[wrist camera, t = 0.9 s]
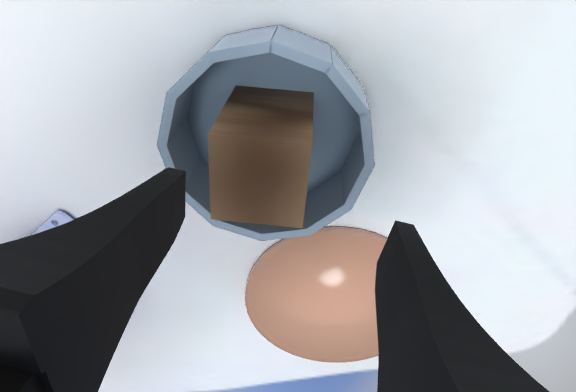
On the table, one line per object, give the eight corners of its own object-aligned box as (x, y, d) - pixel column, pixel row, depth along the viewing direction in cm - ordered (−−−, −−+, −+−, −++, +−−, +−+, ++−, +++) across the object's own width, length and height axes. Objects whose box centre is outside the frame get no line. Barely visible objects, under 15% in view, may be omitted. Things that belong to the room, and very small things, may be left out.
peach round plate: (319, 373, 37) (319, 381, 37) (210, 285, 32) (208, 292, 32) (459, 310, 32) (462, 318, 31) (354, 192, 27) (355, 198, 26)
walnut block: (235, 155, 26) (210, 219, 20) (235, 85, 23) (207, 133, 17) (306, 161, 26) (302, 228, 20) (313, 92, 23) (312, 143, 17)
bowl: (267, 224, 29) (259, 267, 25) (147, 110, 25) (117, 141, 21) (400, 134, 25) (415, 169, 21) (281, -21, 21) (273, -12, 17)
